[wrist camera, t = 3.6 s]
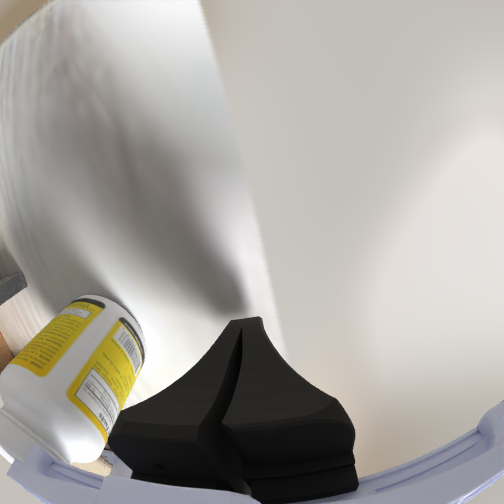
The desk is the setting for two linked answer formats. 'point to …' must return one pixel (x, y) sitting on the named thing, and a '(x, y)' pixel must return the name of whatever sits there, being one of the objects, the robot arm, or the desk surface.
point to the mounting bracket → (3, 291)
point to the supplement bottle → (71, 382)
